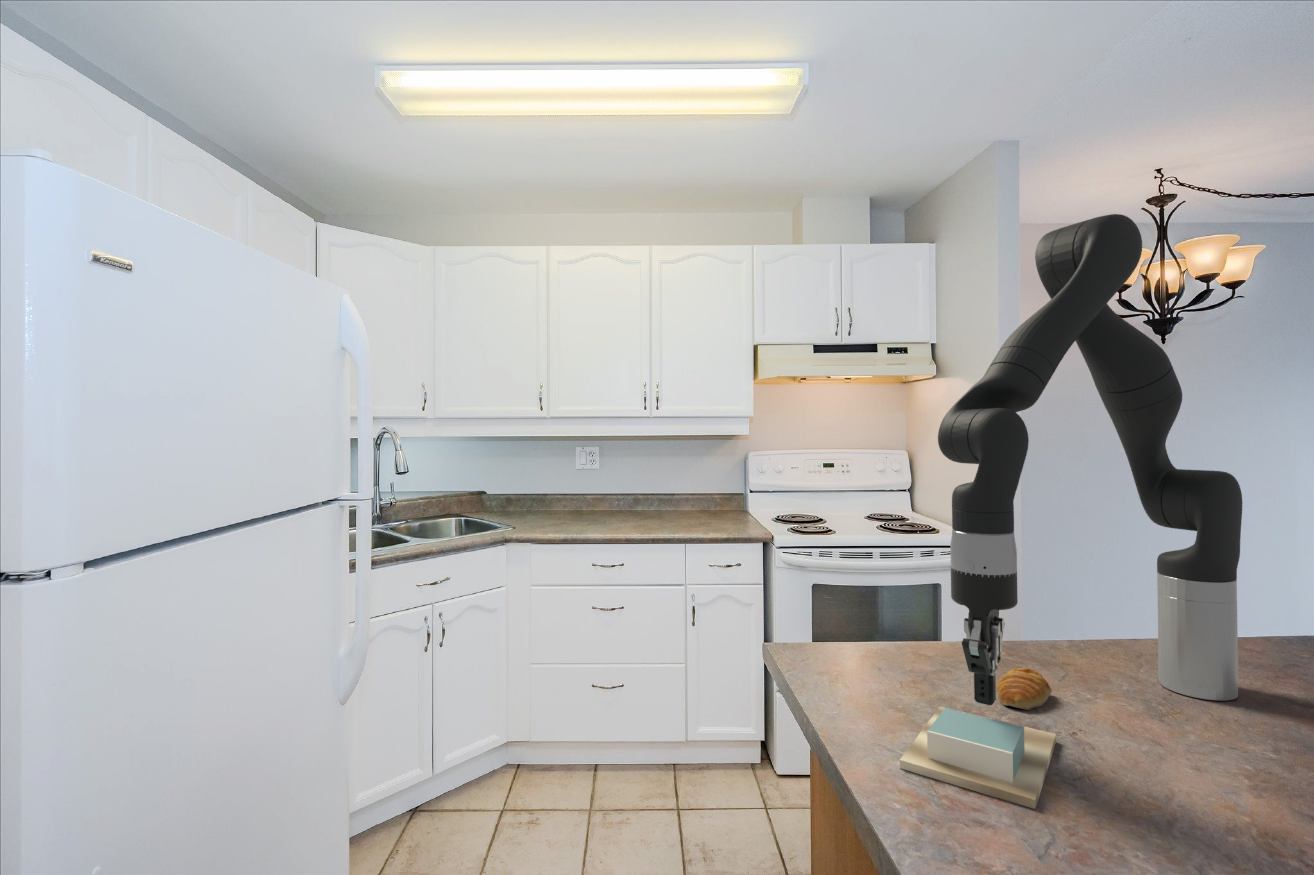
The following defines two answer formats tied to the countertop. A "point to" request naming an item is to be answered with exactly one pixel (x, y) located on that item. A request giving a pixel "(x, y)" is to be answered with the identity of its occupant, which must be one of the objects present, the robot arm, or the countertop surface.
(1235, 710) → the countertop surface
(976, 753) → the slab
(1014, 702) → the pastry
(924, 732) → the board
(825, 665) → the countertop surface
